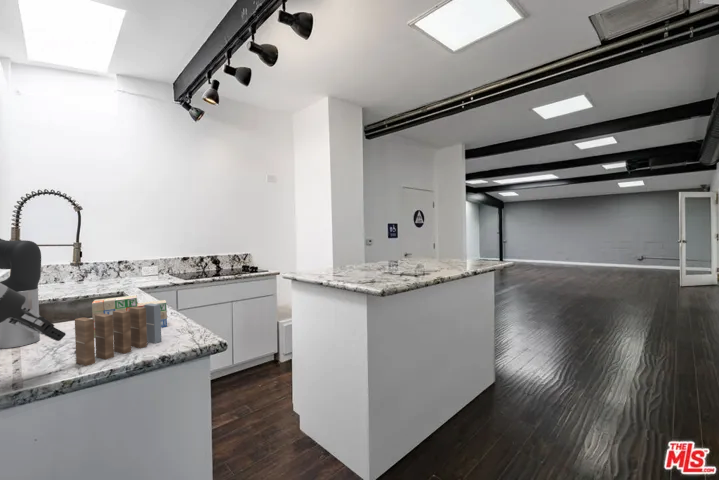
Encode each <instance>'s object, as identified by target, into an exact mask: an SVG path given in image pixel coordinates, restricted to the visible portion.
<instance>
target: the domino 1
mask: <svg viewBox="0 0 719 480" xmlns="http://www.w3.org/2000/svg"><path fill="white" fill-rule="evenodd" d="M74 335H75V337H74V338H75V342H74V343H75V363H76V364H78V365H82V366H85V367H88V366H90V365H93V364H96V346H95V338H94V319H92V318H90V317H84V316H83V317H79V318H75V319H74Z"/></svg>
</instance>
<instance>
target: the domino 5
mask: <svg viewBox="0 0 719 480" xmlns="http://www.w3.org/2000/svg"><path fill="white" fill-rule="evenodd" d="M144 308H146V326H147V343H150V344H151V343H152V344H158V343H160V342H161V343H162V328H161V310H160V305H159V304H151V303H150V304H145V305H144Z"/></svg>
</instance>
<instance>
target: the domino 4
mask: <svg viewBox="0 0 719 480" xmlns="http://www.w3.org/2000/svg"><path fill="white" fill-rule="evenodd" d="M129 311H130V325H131V348H137V349H143V348H146V347H148V342H147V326H146V308H144V307H137V306H136V307H131V308H129Z"/></svg>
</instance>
